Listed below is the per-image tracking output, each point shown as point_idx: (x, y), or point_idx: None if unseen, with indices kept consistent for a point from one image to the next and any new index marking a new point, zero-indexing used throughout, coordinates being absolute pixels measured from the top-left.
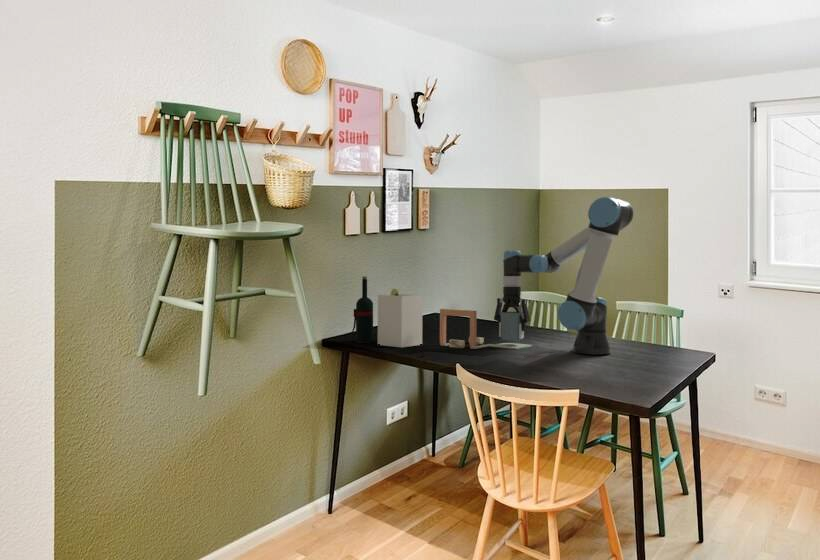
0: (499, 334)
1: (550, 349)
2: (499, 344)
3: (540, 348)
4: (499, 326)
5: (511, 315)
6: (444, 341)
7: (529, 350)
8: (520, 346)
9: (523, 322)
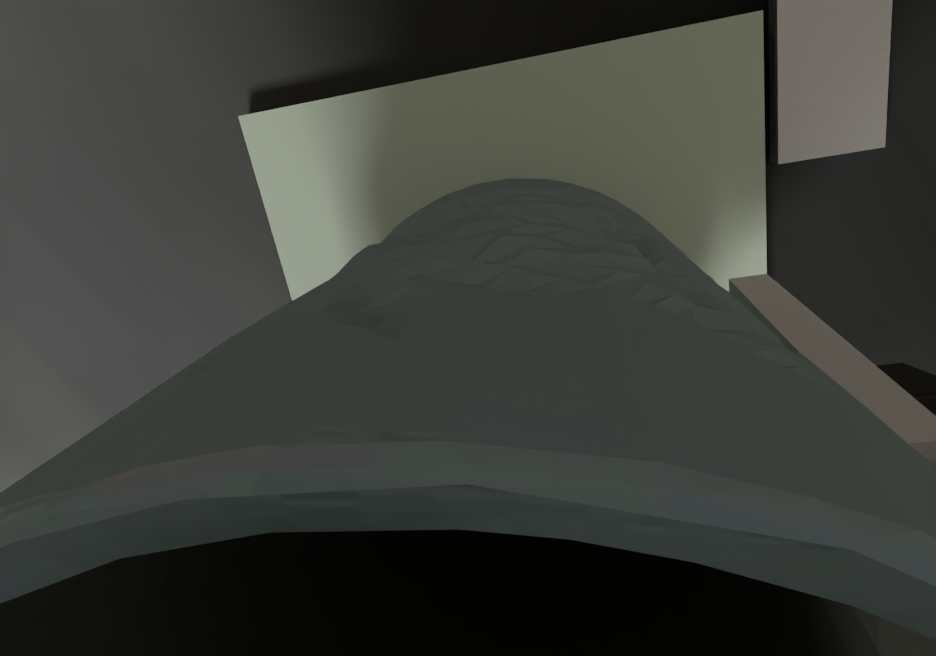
0: (777, 289)
1: (35, 436)
2: (705, 225)
3: None
4: (870, 367)
5: (18, 483)
6: None
7: (52, 152)
8: (318, 280)
9: None
